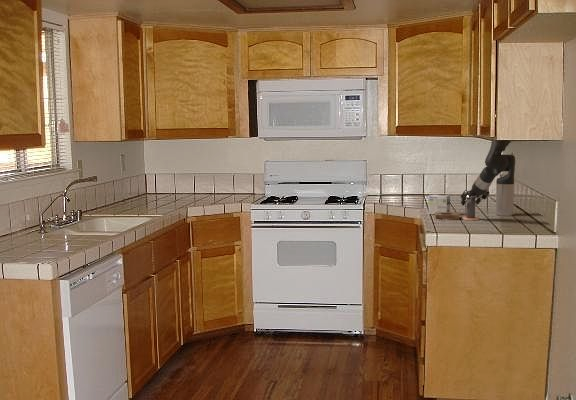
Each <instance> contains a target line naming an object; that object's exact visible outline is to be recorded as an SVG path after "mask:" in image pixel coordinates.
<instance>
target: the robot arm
mask: <svg viewBox="0 0 576 400" xmlns="http://www.w3.org/2000/svg"><path fill="white" fill-rule="evenodd" d="M511 142H512V140H511V141H495V140H493V139H492V138H491V144H490V149H489V151H488V153H487V155H486V157H485V159H484V163H485V164H484V165H485V167H483V168H482V170H481V172H480V173H479V175H478V176H477V177H476V179H475V180H474V182H473V184H472V185H471V189H470V190H467V189H465V190H464V191H463V192H462V194H461V195H460V199H461V201H460V204H461V205H462V206H465V204H467V200H470V199H472V198H475V206H476V205H479V204H480V203H481V201H483V200H484V201H485V200H487V198H488V196H489V195H490V191H489V188H491V187H490V186H491V185H492V183H493V181H494V180H495V178H496V177H497V176H498V175H500V174H501V173H502V172H508V173H506V174H505V175H504V176H501V177H498V178H496V182H495V185H496V187H495V188H496V191H495V193H496V195H495V215H496V216H501V217H502V216H503V217H507V216H509V217H510V216H514V209H515V208H514V206H515V203H514V202H515V170H516V169H515V168H516V157H515V154H503V152H505V151H506V149H507V148H508V146H509V145H510V144H511ZM469 194H470V196H471V197H469ZM467 197H468V198H467Z"/></svg>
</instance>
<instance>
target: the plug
mask: <svg viewBox="0 0 576 400" xmlns="http://www.w3.org/2000/svg"><path fill="white" fill-rule="evenodd" d="M469 197H471V196H470V194H469ZM467 198H468V197H466V199H467ZM475 201H476V198H472V199H470V200H467V201H466V211H465V213H466V216H465V217H466V218H475V217H476V203H475Z"/></svg>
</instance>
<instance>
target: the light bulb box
mask: <svg viewBox="0 0 576 400" xmlns="http://www.w3.org/2000/svg"><path fill="white" fill-rule="evenodd" d="M435 212H451V195H450V194H449V195H445V194H443V195H442V194H431V195H428V215H429V214H435Z"/></svg>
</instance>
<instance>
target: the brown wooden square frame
mask: <svg viewBox="0 0 576 400" xmlns="http://www.w3.org/2000/svg"><path fill="white" fill-rule="evenodd" d="M435 218H436V219H449V220H448V221H460V214H459V213H458V212H453V211H452V212H451V211H450V212H435V215H434V219H435ZM436 219H435V220H436ZM450 219H451V220H450Z"/></svg>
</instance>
